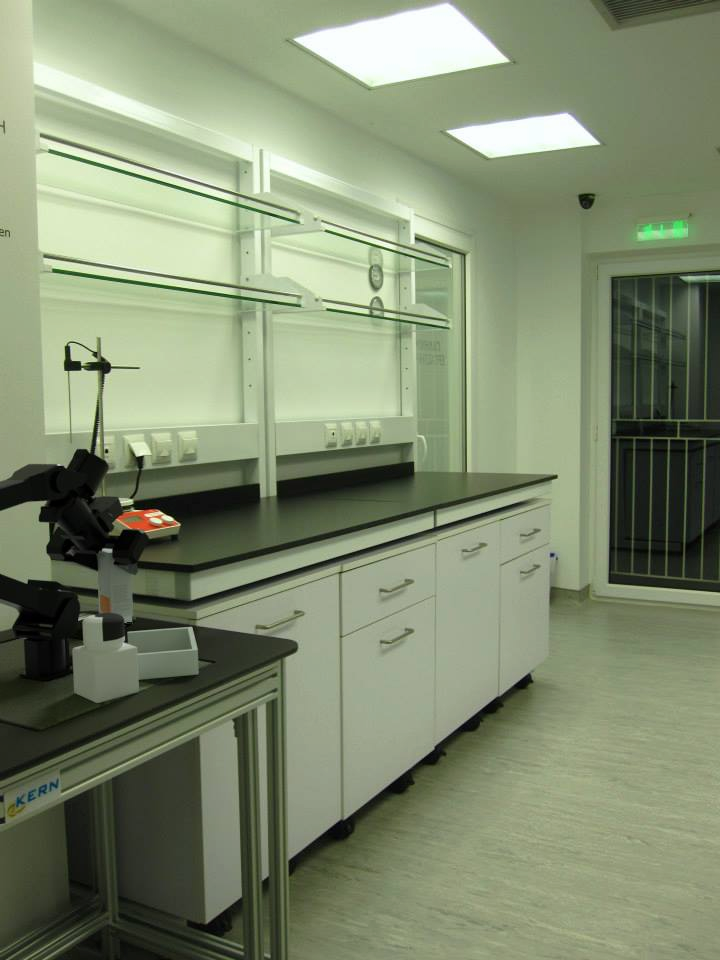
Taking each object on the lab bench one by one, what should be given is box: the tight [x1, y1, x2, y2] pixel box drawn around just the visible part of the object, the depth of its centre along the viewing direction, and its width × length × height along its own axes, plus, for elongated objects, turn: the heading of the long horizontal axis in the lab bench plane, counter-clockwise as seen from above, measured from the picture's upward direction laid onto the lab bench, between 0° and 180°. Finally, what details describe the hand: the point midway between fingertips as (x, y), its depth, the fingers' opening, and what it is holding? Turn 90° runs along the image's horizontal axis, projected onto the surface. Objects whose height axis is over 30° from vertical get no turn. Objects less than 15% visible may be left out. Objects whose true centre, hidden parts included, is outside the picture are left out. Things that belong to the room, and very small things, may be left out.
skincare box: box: [96, 549, 134, 617], centre depth 162 cm, size 6×4×12 cm
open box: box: [127, 626, 200, 681], centre depth 151 cm, size 11×16×4 cm
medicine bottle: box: [71, 612, 140, 704], centre depth 136 cm, size 7×7×12 cm
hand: (119, 571), depth 163 cm, fingers closed on skincare box, 7 cm apart
